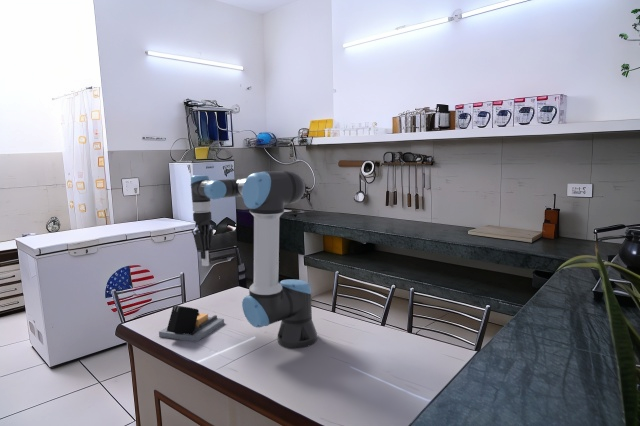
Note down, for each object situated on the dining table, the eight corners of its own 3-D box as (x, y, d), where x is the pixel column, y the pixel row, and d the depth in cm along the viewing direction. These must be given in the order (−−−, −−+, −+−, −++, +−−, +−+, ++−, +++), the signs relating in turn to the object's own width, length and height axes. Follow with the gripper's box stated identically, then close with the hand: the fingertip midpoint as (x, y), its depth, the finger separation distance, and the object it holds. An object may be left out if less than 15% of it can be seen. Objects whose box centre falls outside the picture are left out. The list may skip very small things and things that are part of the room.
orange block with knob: (208, 320, 173) (207, 312, 173) (198, 326, 167) (198, 318, 167) (192, 319, 176) (191, 310, 176) (182, 324, 170) (182, 316, 169)
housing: (224, 323, 176) (223, 316, 175) (196, 341, 158) (196, 333, 158) (189, 319, 182) (188, 312, 181) (159, 336, 164) (158, 328, 164)
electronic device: (192, 334, 165) (199, 309, 167) (173, 333, 157) (180, 306, 159) (185, 332, 167) (192, 307, 170) (166, 330, 159) (173, 305, 161)
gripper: (203, 209, 182) (207, 261, 185) (184, 213, 170) (188, 268, 173) (218, 209, 180) (221, 262, 183) (200, 213, 168) (203, 269, 170)
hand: (205, 265), depth 178 cm, fingers closed
